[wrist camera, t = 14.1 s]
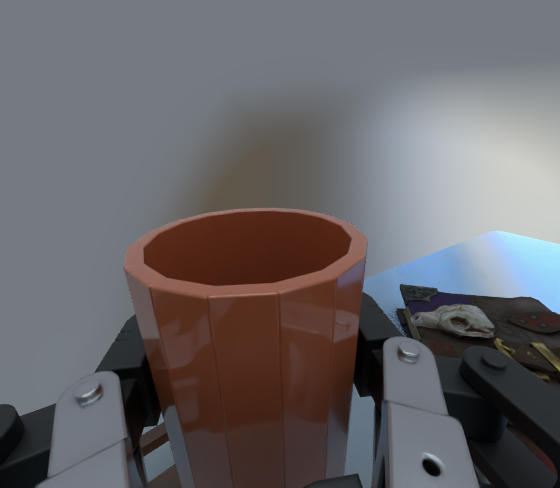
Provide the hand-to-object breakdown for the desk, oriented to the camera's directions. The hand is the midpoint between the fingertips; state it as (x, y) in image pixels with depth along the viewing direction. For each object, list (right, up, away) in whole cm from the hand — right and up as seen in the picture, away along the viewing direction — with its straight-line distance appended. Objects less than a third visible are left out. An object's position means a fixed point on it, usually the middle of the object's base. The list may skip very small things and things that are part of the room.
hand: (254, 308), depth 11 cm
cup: (+1, -6, 0) cm, 6 cm away
